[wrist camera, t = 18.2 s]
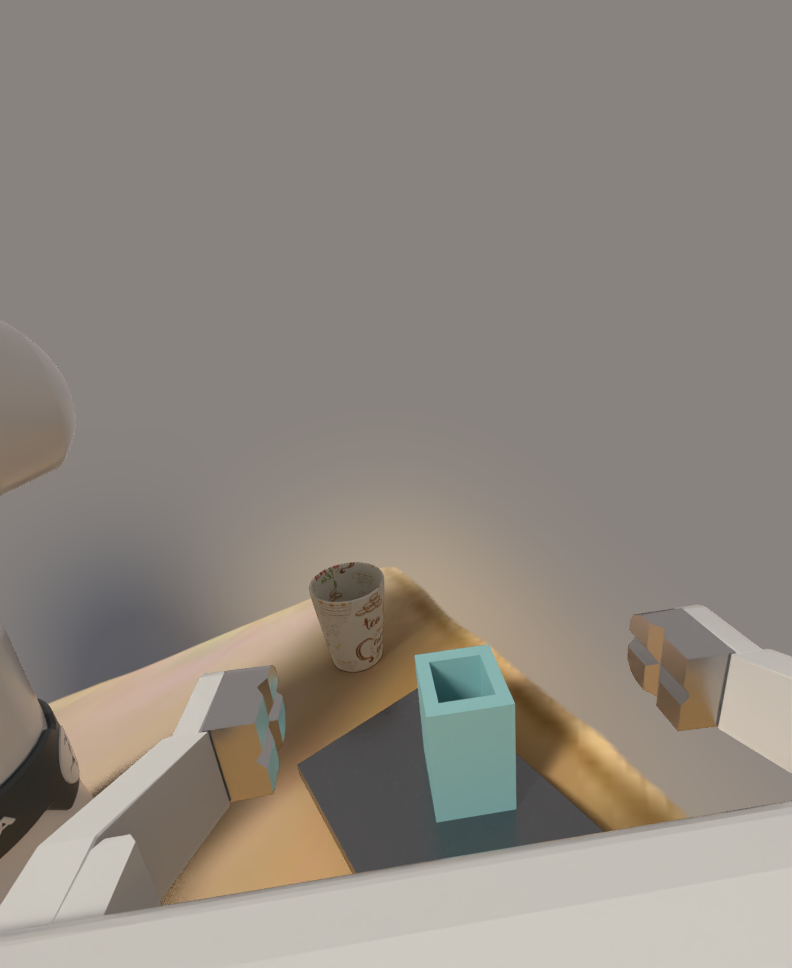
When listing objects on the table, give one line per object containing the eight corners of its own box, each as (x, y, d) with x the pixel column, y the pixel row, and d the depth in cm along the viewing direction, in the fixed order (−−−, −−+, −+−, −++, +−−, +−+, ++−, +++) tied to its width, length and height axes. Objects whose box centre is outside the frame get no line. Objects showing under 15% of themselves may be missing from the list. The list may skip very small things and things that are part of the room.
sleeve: (516, 809, 32) (515, 703, 29) (436, 822, 32) (426, 717, 29) (492, 739, 38) (488, 644, 35) (424, 749, 38) (414, 655, 34)
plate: (457, 1069, 22) (449, 996, 20) (299, 774, 38) (286, 717, 36) (620, 858, 30) (627, 791, 28) (432, 688, 46) (428, 637, 43)
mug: (346, 692, 46) (333, 612, 43) (294, 637, 56) (280, 568, 53) (406, 654, 51) (398, 579, 48) (349, 609, 60) (339, 544, 57)
